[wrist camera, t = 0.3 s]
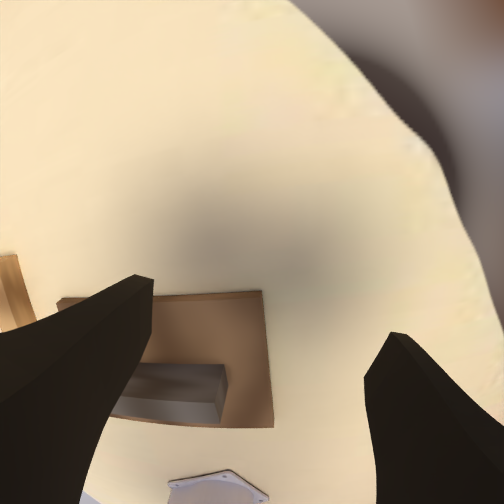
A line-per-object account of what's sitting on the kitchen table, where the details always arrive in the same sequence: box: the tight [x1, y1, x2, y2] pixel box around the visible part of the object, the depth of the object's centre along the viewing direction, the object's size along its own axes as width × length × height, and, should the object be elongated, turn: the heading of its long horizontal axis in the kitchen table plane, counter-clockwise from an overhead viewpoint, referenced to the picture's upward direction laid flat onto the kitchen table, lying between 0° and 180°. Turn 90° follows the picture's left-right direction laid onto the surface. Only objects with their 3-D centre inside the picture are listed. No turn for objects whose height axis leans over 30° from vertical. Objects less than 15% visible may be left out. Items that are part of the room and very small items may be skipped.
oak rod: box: [0, 255, 37, 332], centre depth 22 cm, size 20×3×3 cm, turn 6°
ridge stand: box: [56, 291, 274, 428], centre depth 20 cm, size 16×12×5 cm
